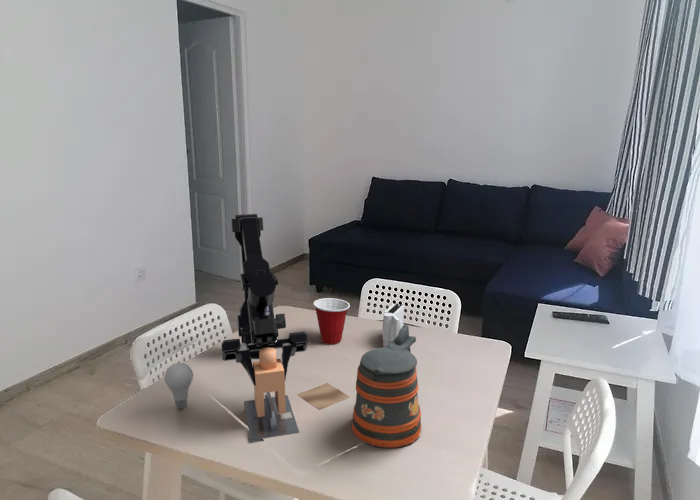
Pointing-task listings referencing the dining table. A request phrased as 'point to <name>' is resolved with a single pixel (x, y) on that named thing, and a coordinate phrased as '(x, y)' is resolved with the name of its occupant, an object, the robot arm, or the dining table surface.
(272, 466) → the dining table surface
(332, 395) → the thin square tan tile
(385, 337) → the white box
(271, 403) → the grey finned plate
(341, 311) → the plastic cup
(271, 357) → the arched stamp block
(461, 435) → the dining table surface
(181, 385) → the lightbulb
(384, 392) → the beer stein
